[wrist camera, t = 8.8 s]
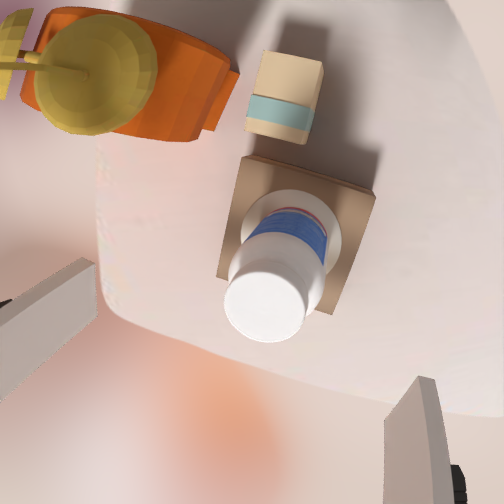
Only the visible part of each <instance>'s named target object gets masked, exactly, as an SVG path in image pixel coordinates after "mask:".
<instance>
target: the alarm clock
mask: <svg viewBox="0 0 504 504" xmlns="http://www.w3.org/2000/svg"><path fill="white" fill-rule="evenodd" d="M32 13H33V8H29V9H21V10H17V11H15V12H14V13H12V14H10V15H8V16H7V17H6V19H5V20H4V21H3V22H2V24H1V25H0V99H1V100H5V97H6V93H7V90H8V86H9V83H10V79H11V75H12V72H13V70H27V72H26V75H25V78H24V82H23V85H22V89H21V93H20V96H21V99H22V101H23V102H24V103H26V104H27V105H29V106H30V107H32V108H34V109H36V110H38V111H41V112H42V113H43V115H44V116H45V117H46V118H47V119H48V120H49V121H50V122H51V123H52V124H53V125H54V126H55V127H57V128H59V129H61V130H64V131H66V132H68V133H70V134H79V135H90V136H94V135H99V134H103V133H108V132H115V133H120V134H125V135H129V136H134V137H140V138H147V139H154V140H161V141H169V142H190V141H193V140H196V139H198V137H199V135H200V132H201V130H202V129H205V130H210V131H214V130H215V128H216V125H217V123H218V121H219V119H220V116H221V114H222V112H223V110H224V108H225V105H226V103H227V101H228V99H229V97H230V94H231V92H232V90H233V88H234V86H235V84H236V82H237V80H238V77H239V75H240V74H238V73H235V72H233V71H231V70H229V68H230V59H229V58H228V57H227V56H226V55H225V54H223V53H222V52H221V51H220V50H218V49H217V48H215V47H213V46H212V45H210V44H208V43H206V42H204V41H202V40H200V39H198V38H195V37H193V36H191V35H188V34H186V33H184V32H181V31H179V30H176V29H174V28H171V27H168V26H165V25H162V24H159V23H156V22H153V21H149V20H146V19H143V18H139V17H135V16H131V15H127V14H123V13H118V12H113V11H109V10H102V9H95V8H88V7H87V8H86V7H60V8H55V9H53V10H51V11H50V12H49V13H48V14H47V15H46V18H45V20H44V23H43V25H42V28H41V30H40V33H39V35H38V38H37V41H36V44H35V46H34V49H33V51H25V50H19V49H20V46H21V43H22V41H23V38H24V35H25V32H26V29H27V26H28V24H29V20H30V18H31V16H32ZM17 58H24V60H25V61H26V62H29V63H18V62H16V59H17Z"/></svg>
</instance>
